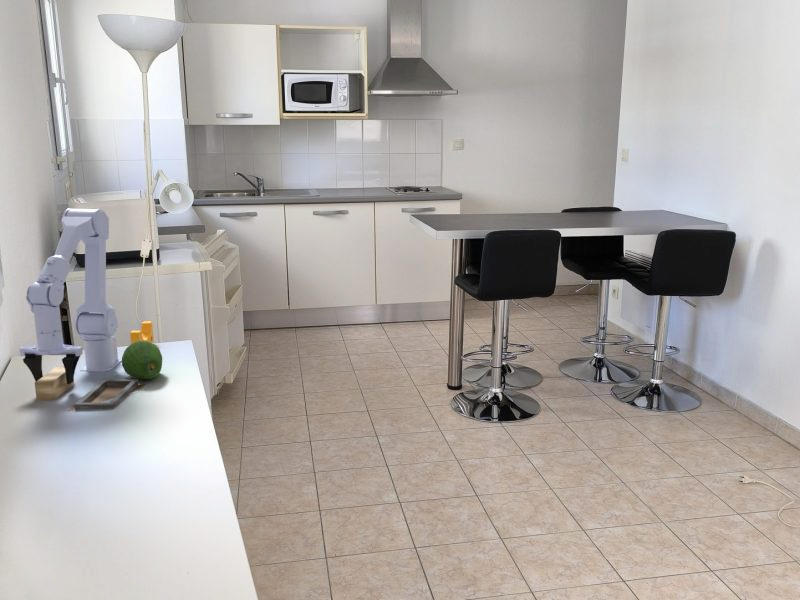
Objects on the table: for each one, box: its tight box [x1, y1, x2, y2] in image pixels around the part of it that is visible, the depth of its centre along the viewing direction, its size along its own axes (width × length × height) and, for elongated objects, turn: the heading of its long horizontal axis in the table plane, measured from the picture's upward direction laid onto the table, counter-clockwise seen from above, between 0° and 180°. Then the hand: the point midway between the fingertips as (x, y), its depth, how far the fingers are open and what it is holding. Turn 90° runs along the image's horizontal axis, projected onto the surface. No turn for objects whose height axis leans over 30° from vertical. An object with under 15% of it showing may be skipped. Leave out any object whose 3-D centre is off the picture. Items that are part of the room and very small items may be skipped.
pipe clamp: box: [129, 320, 155, 345], centre depth 216 cm, size 12×4×6 cm, turn 1°
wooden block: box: [34, 365, 75, 401], centre depth 179 cm, size 12×4×5 cm, turn 1°
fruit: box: [121, 341, 163, 381], centre depth 188 cm, size 15×10×10 cm, turn 29°
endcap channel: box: [67, 378, 146, 412], centre depth 175 cm, size 18×12×2 cm
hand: (54, 382), depth 179 cm, fingers open, 7 cm apart
